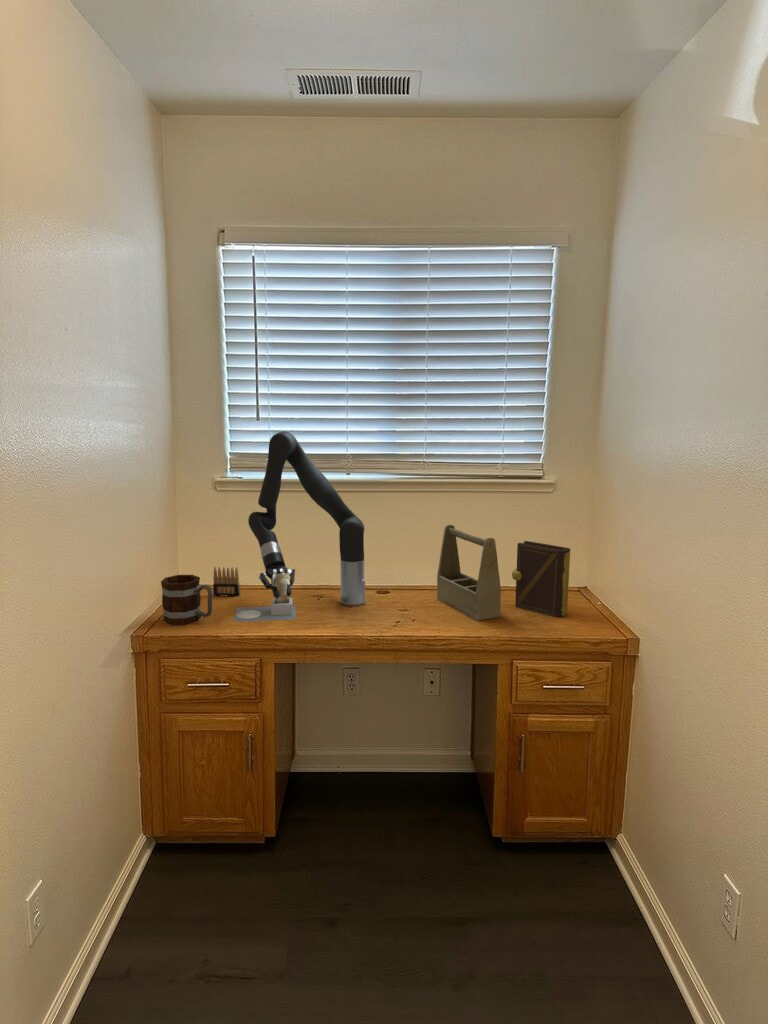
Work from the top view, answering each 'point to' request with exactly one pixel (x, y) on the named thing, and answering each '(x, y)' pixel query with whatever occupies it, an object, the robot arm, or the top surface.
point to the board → (267, 612)
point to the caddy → (469, 578)
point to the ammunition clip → (226, 582)
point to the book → (542, 578)
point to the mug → (183, 599)
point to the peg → (281, 588)
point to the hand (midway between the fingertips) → (283, 596)
